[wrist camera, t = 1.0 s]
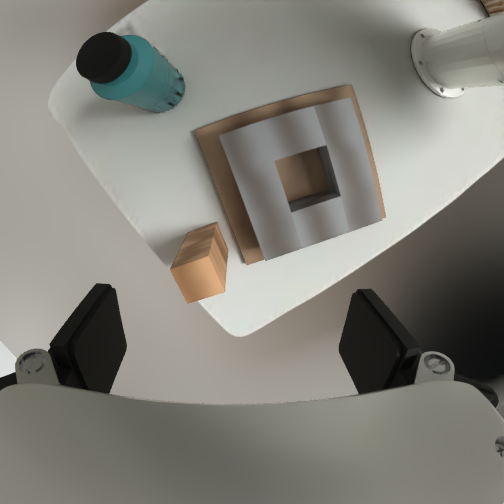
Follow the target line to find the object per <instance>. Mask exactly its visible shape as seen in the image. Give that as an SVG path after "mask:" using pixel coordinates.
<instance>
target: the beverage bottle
mask: <svg viewBox="0 0 504 504" xmlns="http://www.w3.org/2000/svg"><path fill="white" fill-rule="evenodd" d="M154 47H155V46H154ZM154 47H152V46H151V44H150V43H149V42H148V41H147V40H145V39H144V38H142V37H140V36H136V35H125V36H118V35H116V34H114V33H111V32H102V33H98V34H96V35H94V36H92V37H91V38H89V39H88V40H87V41H86V42H85V43H84V44H83V46H82V47H81V49H80V50H79V53H78V55H77V59H76V67H77V70H78V72H79V73H80V75H81V76H83V77H84V78H87V79H88V80H89V81H90V83H91V86H92V88H93V90H94V91H95V93H96V94H98V95H99V96H100V97H102V98H105V99H108V100H116V101H120V102H124V103H127V104H131V105H135V106H137V107H140V108H143V110H144V109H147V110H150V111H153V112H159V113H160V112H161V113H162V112H163V113H164V111H167V110H168V111H169V110H170V109H172V108H173V107H175V106H176V105H177V104H178V103H179V102H180V100H181V99H182V97H183V94H185V93H184V90H185V89H186V85H185V84H184V83H185V82H184V80H183V78H184V77H183V78H182V76H181V75H182V74H181V75H180V74H179V73H178V70H177V69H176V70H177V71H176V70H175V69H174V68H173V67H172V65H171V64H169V63H170V62H169V63H168V61H167V59H166V58H164V56H162V55H163V54H162V55H161V54H160V53H159V52H158V51H159V50H158V51H157V49H156V48H154ZM155 49H156V50H155Z"/></svg>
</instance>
